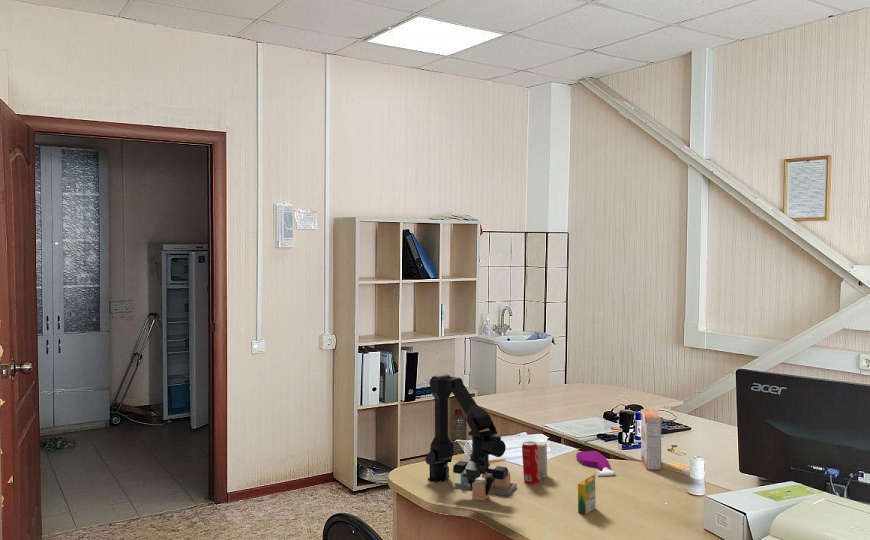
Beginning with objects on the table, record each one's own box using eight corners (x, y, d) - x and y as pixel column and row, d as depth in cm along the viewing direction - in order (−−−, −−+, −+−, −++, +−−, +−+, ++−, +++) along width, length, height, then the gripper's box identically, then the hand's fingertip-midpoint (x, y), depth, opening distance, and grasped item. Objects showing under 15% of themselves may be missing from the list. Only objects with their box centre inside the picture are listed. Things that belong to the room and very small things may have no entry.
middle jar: (482, 489, 250) (482, 470, 249) (486, 485, 254) (486, 466, 253) (493, 490, 248) (493, 472, 247) (498, 487, 252) (497, 468, 251)
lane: (455, 488, 252) (455, 483, 252) (464, 481, 260) (464, 475, 260) (508, 496, 243) (508, 491, 243) (516, 488, 251) (516, 483, 251)
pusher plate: (460, 484, 252) (460, 468, 252) (467, 479, 258) (467, 463, 258) (463, 485, 252) (463, 469, 251) (470, 479, 257) (469, 464, 257)
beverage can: (539, 486, 253) (539, 445, 253) (521, 485, 255) (521, 444, 254) (540, 480, 259) (540, 441, 259) (522, 479, 261) (522, 440, 260)
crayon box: (587, 506, 234) (587, 472, 233) (596, 508, 232) (596, 474, 231) (577, 512, 228) (577, 477, 228) (585, 515, 226) (585, 479, 226)
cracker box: (640, 459, 284) (640, 408, 284) (655, 459, 284) (655, 409, 283) (645, 470, 271) (645, 417, 270) (661, 470, 270) (662, 417, 269)
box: (547, 475, 265) (547, 442, 265) (545, 479, 261) (545, 445, 260) (534, 474, 267) (533, 441, 266) (531, 478, 263) (531, 444, 262)
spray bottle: (599, 457, 289) (621, 477, 265) (573, 458, 288) (594, 479, 263) (599, 450, 289) (621, 470, 264) (573, 451, 288) (594, 471, 263)
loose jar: (472, 500, 240) (472, 480, 240) (477, 495, 244) (477, 476, 244) (484, 501, 239) (484, 482, 238) (488, 497, 242) (488, 478, 242)
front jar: (494, 491, 248) (494, 472, 247) (498, 487, 251) (498, 468, 251) (506, 492, 246) (506, 473, 245) (510, 488, 250) (510, 470, 249)
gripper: (446, 453, 238) (446, 498, 238) (497, 459, 230) (497, 506, 230) (459, 444, 248) (459, 487, 248) (508, 450, 240) (509, 495, 240)
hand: (480, 494), depth 241 cm, fingers closed on loose jar, 4 cm apart
